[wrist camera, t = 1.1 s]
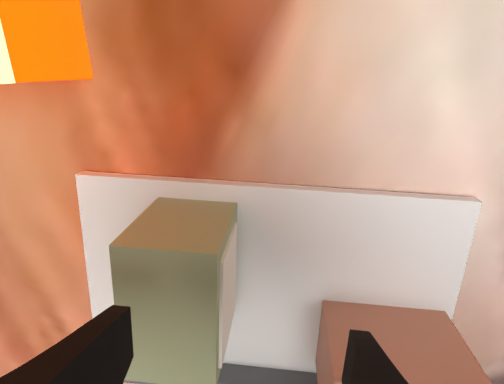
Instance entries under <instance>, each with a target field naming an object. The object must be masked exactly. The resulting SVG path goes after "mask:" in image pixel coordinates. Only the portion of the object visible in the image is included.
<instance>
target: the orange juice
mask: <svg viewBox="0 0 504 384" xmlns="http://www.w3.org/2000/svg"><path fill="white" fill-rule="evenodd" d="M78 79H93V75H92V69H91V64H90V58H89V52H88V47H87V41H86V35H85V30H84V24H83V18H82V13H81V7H80V1H79V0H0V84H11V83H20V82H39V81H58V80H78Z"/></svg>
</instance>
